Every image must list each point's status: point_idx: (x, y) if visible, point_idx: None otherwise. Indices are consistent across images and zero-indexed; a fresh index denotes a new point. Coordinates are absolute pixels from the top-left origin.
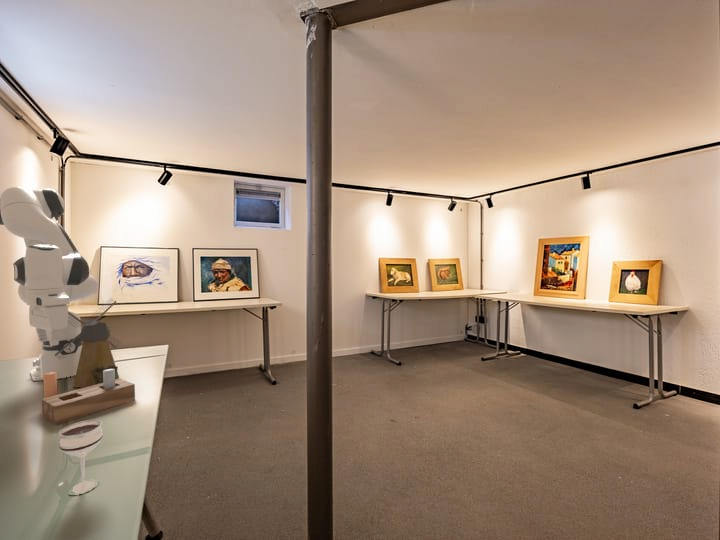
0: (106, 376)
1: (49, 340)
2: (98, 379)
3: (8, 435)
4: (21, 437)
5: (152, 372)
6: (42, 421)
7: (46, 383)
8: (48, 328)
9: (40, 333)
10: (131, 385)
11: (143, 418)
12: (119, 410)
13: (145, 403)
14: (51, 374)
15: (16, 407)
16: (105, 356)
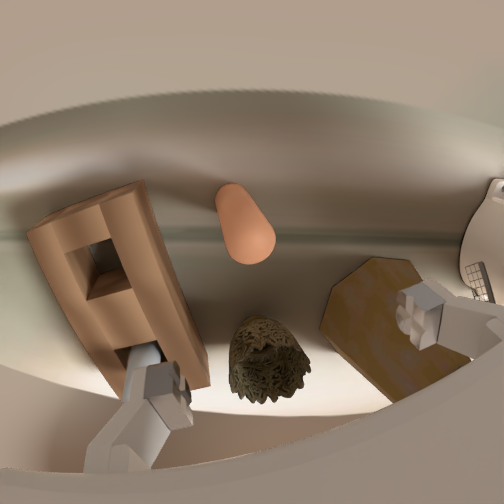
0: (125, 382)
1: (168, 387)
2: (234, 346)
3: (51, 115)
4: (19, 148)
5: (327, 406)
6: (97, 182)
7: (227, 215)
8: (38, 493)
9: (464, 322)
10: (119, 396)
11: (9, 357)
12: (69, 337)
13: (88, 380)
14: (228, 247)
15: (303, 114)
16: (376, 384)
